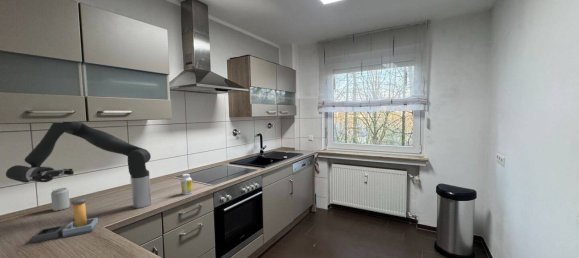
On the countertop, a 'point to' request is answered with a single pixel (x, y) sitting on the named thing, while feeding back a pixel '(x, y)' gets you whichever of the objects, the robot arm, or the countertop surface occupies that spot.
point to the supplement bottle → (186, 184)
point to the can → (60, 199)
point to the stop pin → (79, 212)
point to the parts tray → (80, 228)
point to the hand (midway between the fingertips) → (61, 174)
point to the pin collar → (48, 233)
